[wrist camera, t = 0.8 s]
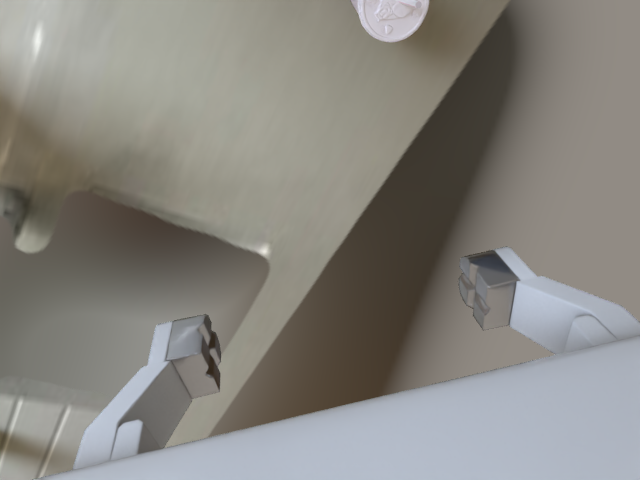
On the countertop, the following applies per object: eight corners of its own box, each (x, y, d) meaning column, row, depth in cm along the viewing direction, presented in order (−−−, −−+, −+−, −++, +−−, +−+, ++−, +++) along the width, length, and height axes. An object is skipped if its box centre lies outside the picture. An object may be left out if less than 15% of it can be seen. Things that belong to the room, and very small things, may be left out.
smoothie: (406, 3, 46) (462, 20, 35) (357, 40, 47) (395, 68, 36) (378, -57, 43) (431, -59, 31) (326, -16, 44) (358, -3, 33)
